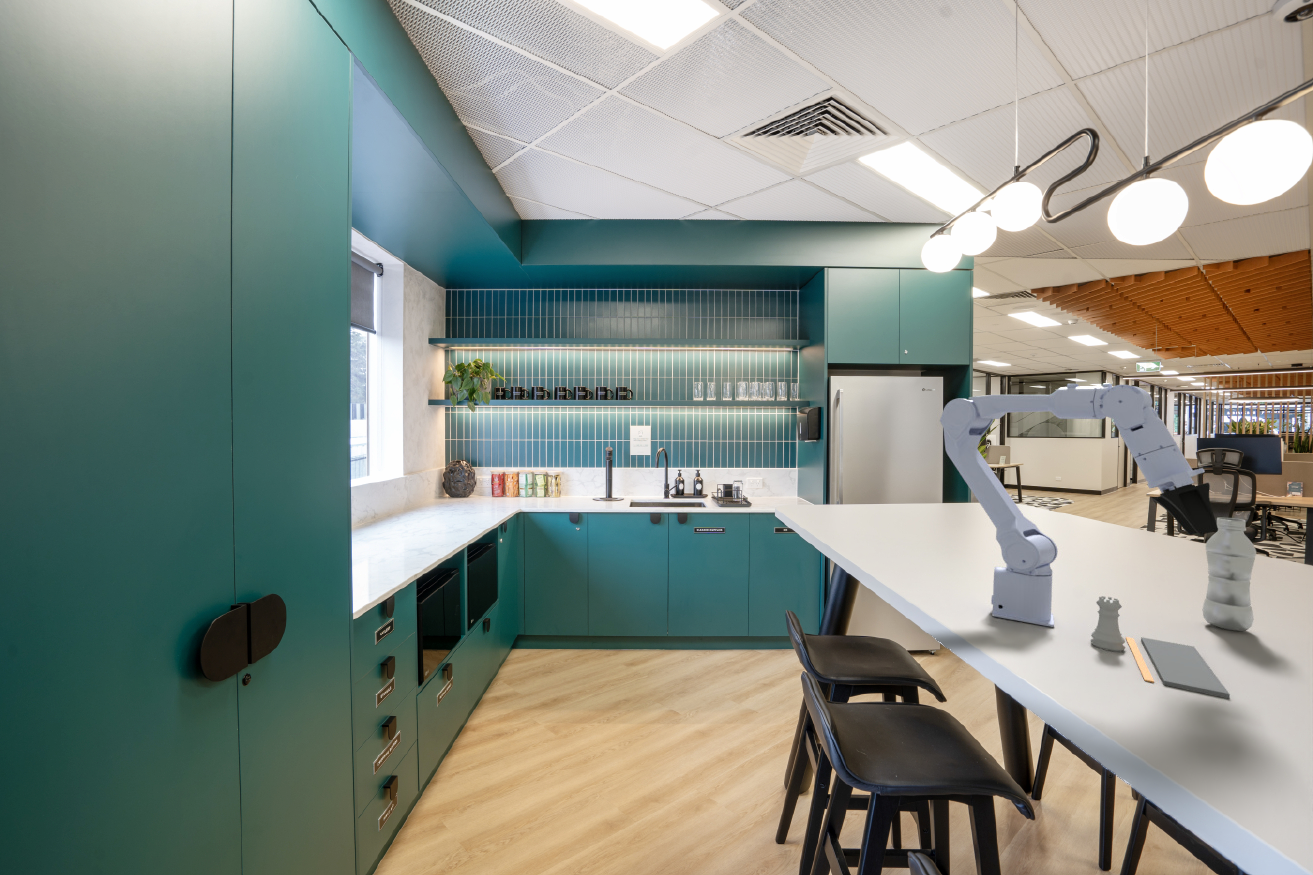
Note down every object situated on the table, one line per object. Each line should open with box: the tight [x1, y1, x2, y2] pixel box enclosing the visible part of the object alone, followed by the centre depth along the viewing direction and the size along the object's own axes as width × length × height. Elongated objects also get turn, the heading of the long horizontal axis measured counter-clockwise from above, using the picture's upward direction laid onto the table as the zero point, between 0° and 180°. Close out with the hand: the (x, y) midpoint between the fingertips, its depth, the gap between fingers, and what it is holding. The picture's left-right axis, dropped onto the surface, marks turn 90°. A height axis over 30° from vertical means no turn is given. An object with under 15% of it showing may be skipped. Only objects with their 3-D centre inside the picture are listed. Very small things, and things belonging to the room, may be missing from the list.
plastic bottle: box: [1202, 517, 1257, 632], centre depth 100 cm, size 6×7×20 cm
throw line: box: [1125, 636, 1155, 683], centre depth 86 cm, size 1×20×1 cm, turn 146°
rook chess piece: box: [1090, 595, 1126, 652], centre depth 90 cm, size 4×4×8 cm
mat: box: [1140, 636, 1231, 699], centre depth 83 cm, size 6×20×1 cm, turn 145°
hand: (1203, 532), depth 85 cm, fingers open, 7 cm apart
